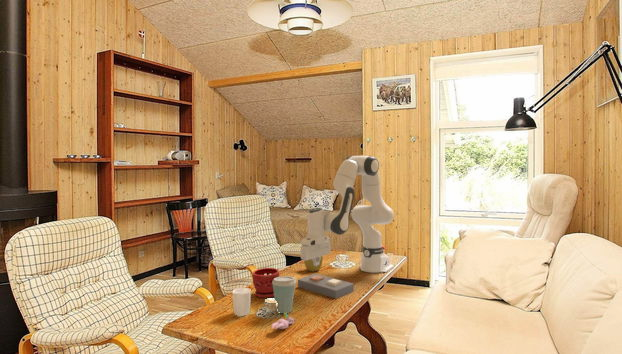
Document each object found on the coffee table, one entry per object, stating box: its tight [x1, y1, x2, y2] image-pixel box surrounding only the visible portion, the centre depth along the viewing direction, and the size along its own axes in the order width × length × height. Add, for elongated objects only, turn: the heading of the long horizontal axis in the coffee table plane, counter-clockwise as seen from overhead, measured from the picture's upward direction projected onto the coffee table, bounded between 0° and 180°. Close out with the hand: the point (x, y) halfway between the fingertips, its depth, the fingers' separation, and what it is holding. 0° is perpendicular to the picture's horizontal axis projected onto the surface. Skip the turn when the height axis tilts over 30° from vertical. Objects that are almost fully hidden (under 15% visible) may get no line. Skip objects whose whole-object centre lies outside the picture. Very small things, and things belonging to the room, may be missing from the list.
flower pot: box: [303, 256, 324, 272], centre depth 228 cm, size 9×9×9 cm
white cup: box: [231, 287, 252, 317], centre depth 163 cm, size 8×8×10 cm
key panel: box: [297, 273, 355, 300], centre depth 194 cm, size 14×26×4 cm, turn 47°
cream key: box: [327, 278, 341, 286], centre depth 190 cm, size 5×5×3 cm
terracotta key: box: [310, 276, 323, 281], centre depth 198 cm, size 5×5×3 cm
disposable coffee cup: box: [272, 275, 298, 314], centre depth 165 cm, size 11×11×15 cm
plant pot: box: [252, 267, 280, 299], centre depth 186 cm, size 13×13×12 cm
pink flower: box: [271, 313, 296, 330], centre depth 148 cm, size 6×6×15 cm
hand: (316, 265), depth 198 cm, fingers closed
